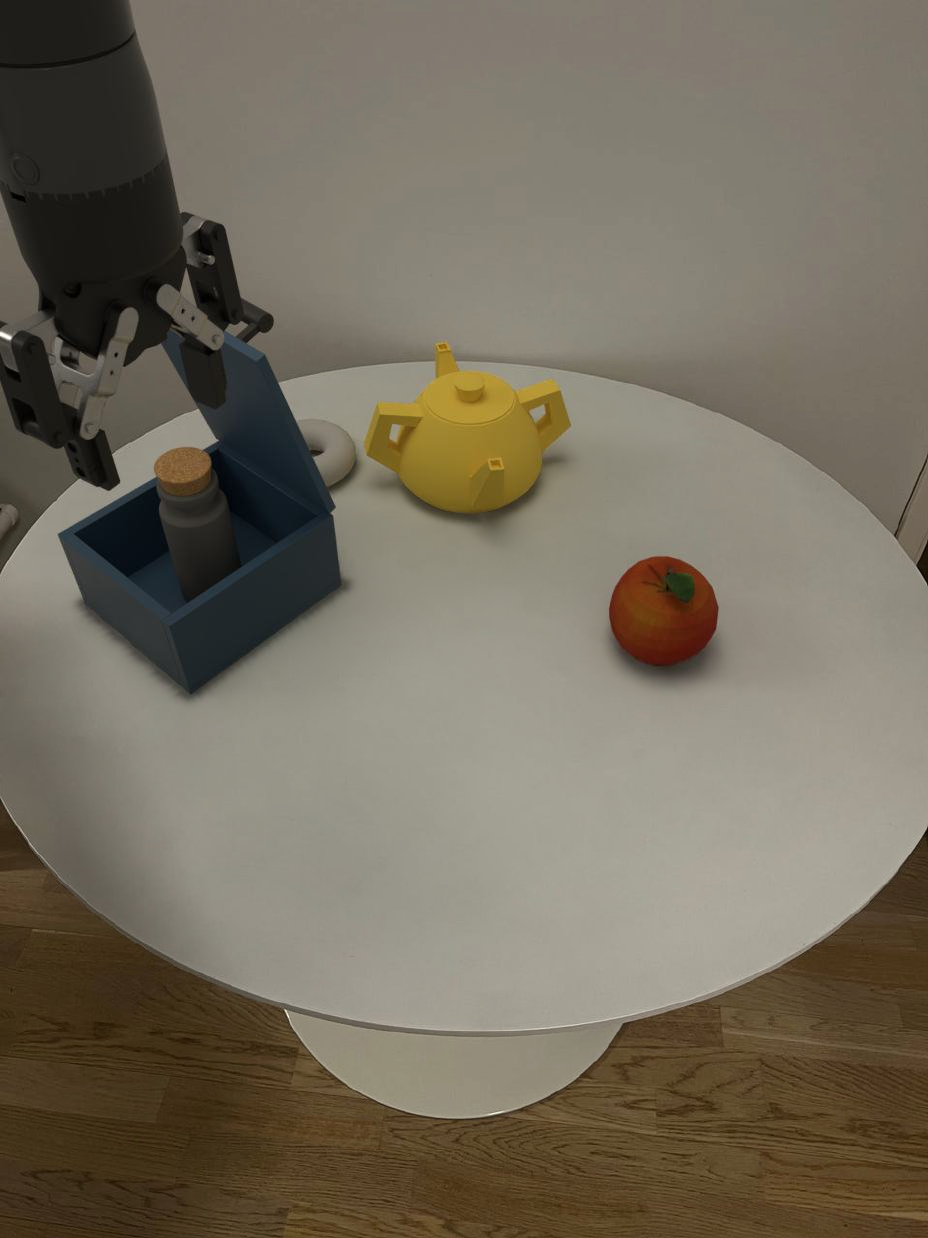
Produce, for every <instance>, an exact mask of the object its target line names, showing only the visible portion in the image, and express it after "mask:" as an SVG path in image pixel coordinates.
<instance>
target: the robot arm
mask: <svg viewBox="0 0 928 1238" xmlns="http://www.w3.org/2000/svg"><path fill="white" fill-rule="evenodd" d="M131 5H132V4H131V0H0V195H1V199H2V202H3V205H4V208H5V210H6V214H7V217H8V219H9V220H8V221H9V222H10V225H11V228H12V231H13V234H14V237H15V240H16V243H17V246H18V249H19V252H20V255H21V257H22V259H23V261H24V262H25V264H26V266H27V268H28V269H29V271H30V272H31V275H32V276H33V278H34V280H35V282H36V284H37V286H38V287H37V288H38V302H37V303H38V304H37V312H35V313H33V314H31V315H29V316H27V317H26V318H24V319H21V320H19V321H18V322H16V323H14V324H9V323H8V322H6V321H3V320H0V385H1V389H2V392H3V395H4V398H5V400H6V403H7V407H8V409H9V412H10V416H11V418H12V421H13V422H12V423H13V425H14V428H15V430H16V431H17V432H18V433H21V434H23V435H26V436H29V437H31V438H34V439H35V440H38V441H40V442H41V443H44V444H45V445H46V446H48V447H49V448H52V449H55V450H56V449H57V450H59V449H62V448H64V451H65V454H66V456H67V458H68V462H69V464H70V467H71V471H72V473H73V474H74V476H76V477H77V478H78V479H80V480H82V481H83V482H86V483H87V484H90V485H92V486H94V487H96V488H100V489H103V490H104V491H107V492H110V491H112V490H114V489H115V488H116V487H118V485H120V484H121V479H120V475H119V472H118V469H117V465H116V462H115V460H114V455H113V454H112V451H111V447H110V444H109V441H108V437H107V434H106V431H105V430H104V429H102V428H100V426H101V423H102V420H103V414H104V411H105V407H106V403H107V400H108V398H109V397H113V396H114V395H116V393H117V390H118V387H119V383H120V380H121V379H120V378H121V375H122V371H123V367H124V368H126V367H128V366H129V365H130V364H132V363H133V362H135V361H136V360H138V358H139V357H140V356H141V355H142V354H143V353H144V352H145V351H146V350H147V349H151V348H154V347H157V346H159V345H161V343H162V342H163V341H165V340H166V339H168V338H167V332H168V331H169V329H170V330H172V331H173V332H174V333H176V334H177V335H179V336H180V337H182V338H185V341H183V342H182V343H180V344H179V349H180V353H181V357H182V362H183V366H184V370H185V374H186V379H187V383H188V387H189V391H188V393H189V392H190V393H189V395H190V396H191V398H192V400H193V399H194V400H195V401H196V402H198V403H201V404H203V405H205V406H208V407H210V408H212V409H218V408H219V407H220V406H222V405H223V404H224V403H226V396H225V391H226V389H227V379H226V374H225V368H224V363H223V358H222V353H221V346H222V345H223V342H224V331H226V330H227V328H228V327H229V326H230V325H232V326H237V325H238V324H240V323H241V322H242V321H241V320H242V318H243V314H244V310H243V305H242V301H241V298H242V297H241V292H240V288H239V282H238V279H237V275H236V274H237V273H236V270H235V265H234V261H233V256H232V252H231V247H230V243H229V239H228V233H227V230H226V227H225V225H224V224H222V223H220V222H217V221H214V220H212V219H208V218H205V217H202V216H199V215H197V214H193V213H192V212H188V211H182V212H181V211H180V207H179V206H180V205H179V202H178V201H179V200H178V196H177V192H176V186H175V182H174V177H173V172H172V167H171V162H170V159H169V153H168V149H167V144H166V138H165V133H164V129H163V125H162V119H161V115H160V110H159V105H158V101H157V96H156V91H155V88H154V84H153V80H152V76H151V74H150V70H149V68H148V65H147V61H146V59H145V56H144V54H143V50H142V48H141V44H140V41H139V37H138V33H137V29H136V27H135V20H134V15H133V9H132V6H131ZM186 272H187V275H188V280H189V283H190V287H191V291H192V295H193V298H194V303H195V305H194V304H193V303H192V302H191V301H189V300H188V299H187V298H185V297H184V296H183V295H182V293H181V290H182V286H183V282H184V279H185V274H186ZM215 289H216V291H217V294H218V296H217V295H216V294H215ZM53 342H54V346H53ZM52 346H53V350H52ZM80 353H81V354H83V355H85V356H87V357H88V358H91V359H92V360H95V361H96V364H95V368H94V371H91V370H87V369H85V368H83V367H82V366H81V364H80V360H79V358H80ZM79 389H80V392H81V395H80V400H79V404H78V407H75V403H76V399H77V396H78V392H79ZM194 400H193V401H194Z"/></svg>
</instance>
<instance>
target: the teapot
mask: <svg viewBox="0 0 928 1238" xmlns="http://www.w3.org/2000/svg"><path fill="white" fill-rule="evenodd" d="M434 360H435V361H434V365H435V366H434V367H435V379H433V380H432V381H431V382H429V384H428V385H427V386H426V387H425V388H424V389H423V390H422V391H421V393H420V394H419V395H418V396H417V397H416V399H415V400H414V402H413V403H407V402H406V403H405V402H404V403H403V402H391V401H390V402H389V401H377V402H376V405H375V409H374V411H373V414H372V418H371V421H370V423H369V425H368V426H369V427H368V429H367V433H366V436H365V439H364V442H363V444H364V450H365V455H366V456H367V457H368V458H370V459H372V460H374V461H375V462H377V463H378V464H380V465H382V466H383V467H385V468H387V469H389V470H391V471H392V472H394V473H396V474H397V475H398V476H399V478H400V480H401V481H402V483H403V485H404V486H405V487H406V488H407V489H408V490H409V491H410V492H411V493H412V494H414V495H415V496H416V497H418V498H419V499H420V500H422V501H423V502H425V503H427V504H429V505H430V506H433V507H435V508H436V509H438V510H439V509H440V510H442V511H446V512H450V513H455V514H466V515H467V514H481V513H488V512H491V511H494V510H498V509H501V508H502V507H505V506H507V505H509V504H510V503H512V502H514V501H516V500H517V499H519V498H520V497H522V496H524V494H525V493H527V492H528V491H529V490H530V489H531V488H532V487H533V486H534V484H535V482H536V481H537V479H538V477H539V475H540V473H541V470H542V466H543V465H542V464H543V463H542V462H543V453H544V452H545V451H546V450H547V449H548V448H549V447H550V446H551V445H552V444H553V443H554V442H556V441H557V440H558V439H559V438H560V437H561V436H562V435H563V434H565V432H567V431H568V430H569V429H570V428H571V427H572V424H571V421H570V417H569V413H568V411H567V408H566V404H565V401H564V398H563V394H562V391H561V388H560V387H559V386H558V383H557V382H556V381H555V379H554V378H550V379H547V380H544V381H540V382H538V383H535V384H532V385H530V386H526V387H524V388H521V389H518V390H515V389H514V388H513V387H512V386H511V385H510V384H509V383H508V382H507V381H505V380H504V379H503V378H500V377H498V376H496V375H495V374H493V373H492V374H491V373H488V372H484V371H478V370H460V368H459V366H458V364H457V361H456V359H455V357H454V355H453V352H452V348H451V346H450V345H449V343H448V341H443V342H442V341H441V342H436V343H435V342H434ZM541 406H544V411H545V414H543V415H542V416H541V417H540V418H538V420H537V421H535V420H534V417H533V416H532V415H531V411H532V410H535V409H537V408H539V407H541ZM393 425H397V426H399V430H398V433H397V437H396V441H394V440H392V439H390V435H391V431H392V427H393Z"/></svg>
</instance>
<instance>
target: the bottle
mask: <svg viewBox="0 0 928 1238" xmlns="http://www.w3.org/2000/svg"><path fill="white" fill-rule="evenodd" d="M153 472H154V475H155V477H157V478H158V480H157V484H156V487H157V492H158V495H159V498H160V499H161V502H160V505H159V514H160V518H161V522H162V525H163V529H164V532H165V536H166V539H167V543H168V546H169V550H170V553H171V557H172V560H173V563H174V567H175V570H176V574H177V577H178V580H179V584H180V587H181V590H182V593H183V596H184V598H185V600H186V601H187V602H188V603H189V602H190V601H191V600H193V599H194V598H196V597H197V596H199V595H200V594H202V593H203V592H205V591H206V590H208V589H209V588H211V587H212V586H214V585H215V584H217V583H218V582H220V581H221V580H223V579H224V578H226V577H227V576H229V575H230V574H232V573H233V572H235V571H236V570H238V569H239V568H241V567H242V565H241V561H240V556H239V552H238V547H237V542H236V538H235V533H234V529H233V524H232V520H231V516H230V511H229V507H228V503H227V499H226V496H225V494H224V493H223V492H222V491H221V490H220V489H219V482H218V477H217V474H216V472H215V471H214V470H213V469H212V468H211V458H210V456H209V455H208V454H207V453H206V452H205V451H203V449H201V448H198V447H193V446H182V447H176V448H173V449H170V450H168V451H165V452H164V453H162V454H161V455H160V456H159V457H158V458H157V459H156V460H155V462H154V465H153Z"/></svg>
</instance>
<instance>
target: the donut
mask: <svg viewBox="0 0 928 1238" xmlns="http://www.w3.org/2000/svg"><path fill="white" fill-rule="evenodd" d="M296 422H297V424H298V426H299V429H300V431H301V433H302V435H303V437H304V439H305V441H306V444H307V446H308V448H309V450H310V451H318V452H321V454H319V455H316V456H313V459H314V461H315V463H316V465H317V467H318V469H319V472H320V474H321V476H322V478H323V480H324V482H325V484H326V487H327V488H328V487H330V486H332V485H334V484H336V483H337V482H340V481H341V480H343V479H344V478H345V477H346V476H347V475H348V474H349V473H350V472H351V470H352V469H353V466H354V464H355V462H356V459H357V451H356V449H357V448H356V443H355V441H354V440H353V438H352V437H351V435H350V433H348V431H347V430H345V429H344V428H343V427H341V426H340V425H339V424H337V423H335V422H331V421H328V420H324V419H317V418H308V419H307V418H305V419H298V420H296Z"/></svg>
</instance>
